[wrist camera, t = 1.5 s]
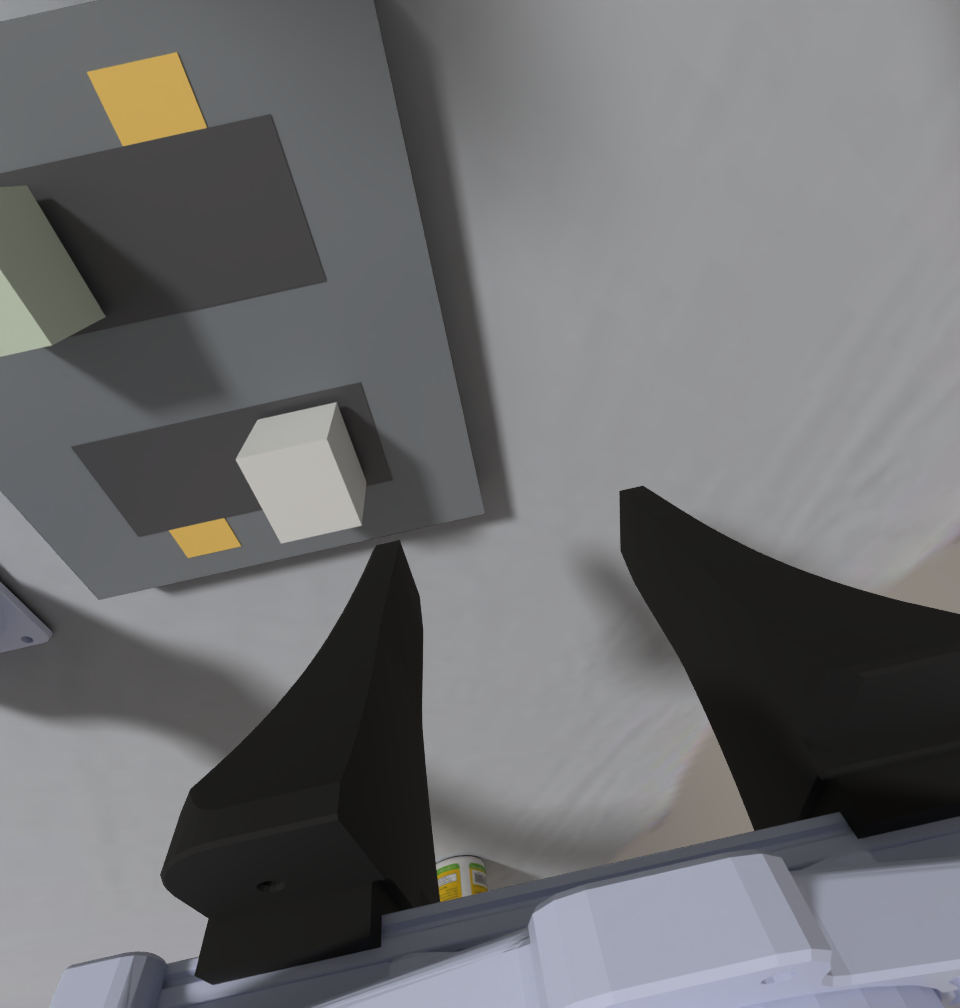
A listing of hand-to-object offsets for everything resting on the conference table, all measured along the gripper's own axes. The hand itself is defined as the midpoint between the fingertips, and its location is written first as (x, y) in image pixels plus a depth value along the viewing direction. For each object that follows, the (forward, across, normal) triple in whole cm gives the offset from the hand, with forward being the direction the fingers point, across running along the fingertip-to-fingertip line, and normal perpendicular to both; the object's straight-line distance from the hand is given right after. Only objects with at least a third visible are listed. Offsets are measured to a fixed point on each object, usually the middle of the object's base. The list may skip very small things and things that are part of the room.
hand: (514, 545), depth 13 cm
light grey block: (+8, +6, 0) cm, 10 cm away
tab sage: (+8, +12, -8) cm, 17 cm away
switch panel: (+10, +10, -4) cm, 15 cm away
